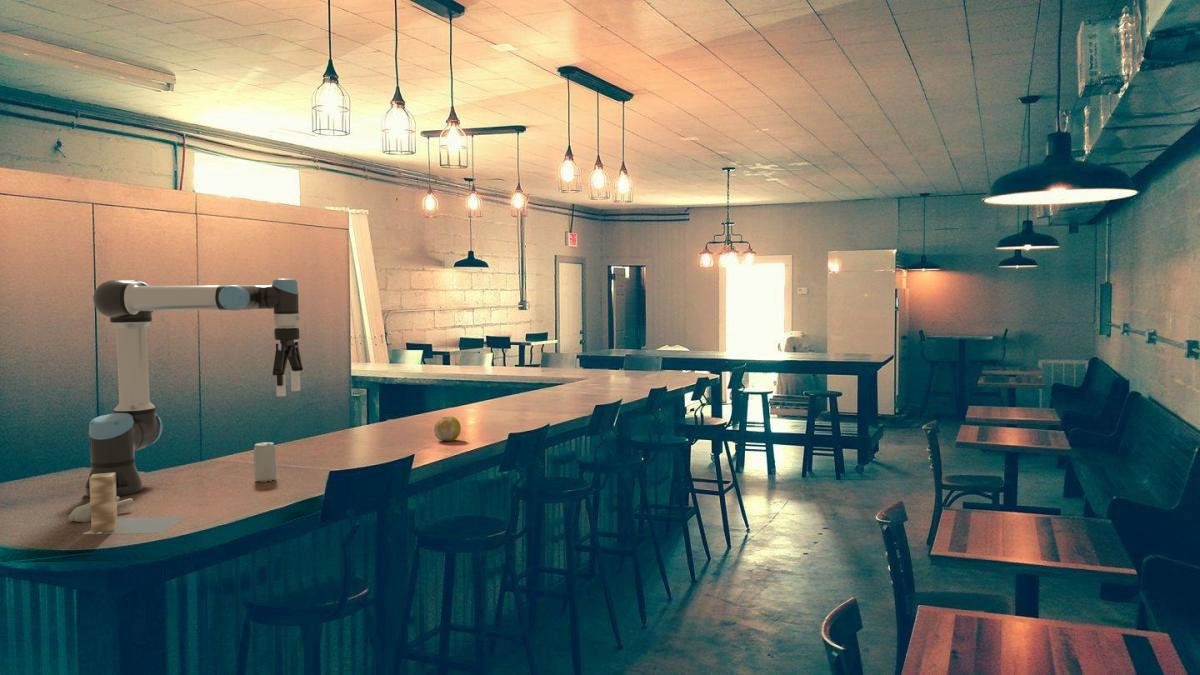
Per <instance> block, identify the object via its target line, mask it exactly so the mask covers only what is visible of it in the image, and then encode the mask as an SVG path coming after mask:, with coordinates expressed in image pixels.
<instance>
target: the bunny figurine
mask: <svg viewBox="0 0 1200 675" xmlns="http://www.w3.org/2000/svg"><path fill="white" fill-rule="evenodd" d="M116 497H117V508H118V507H121V506H125V505H131V504H134V503H135V502H134V500H133V498H131V497H130V498H125V499H123V500H120V499H121V498H120V497H121V496H116ZM68 521H69V522H77V523H87V522H91V505H90V501H89V502H87V503H85V504H81V505H79V506H76V507H75V508H74V509H72V512H71V513H70V514H68Z"/></svg>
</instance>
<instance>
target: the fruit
mask: <svg viewBox="0 0 1200 675" xmlns="http://www.w3.org/2000/svg"><path fill="white" fill-rule="evenodd" d="M433 431H434V432H433V433H434V436H435V437H436V438H437V439H438V440H440V441H444V442H445V441H446V442H447V441H448V442H453V441H455V440H457V439H458V438H459V436H460V434H461V431H462V427H461V423H460V421H459V420H458V418H457V417H455V416H451V415H449V416H443V417H441V418H438V419H437V421H436V422H435V425H434V427H433Z"/></svg>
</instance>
